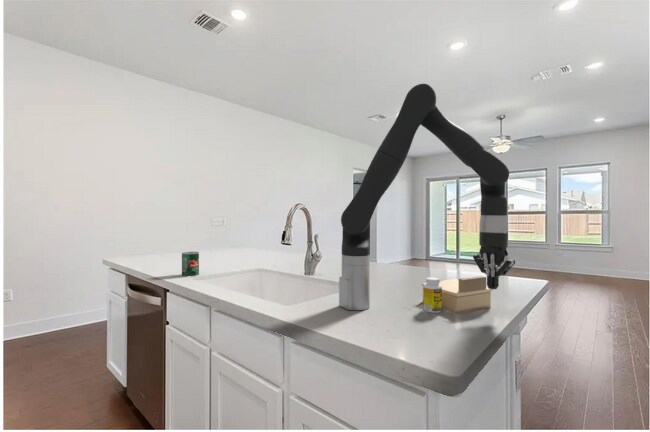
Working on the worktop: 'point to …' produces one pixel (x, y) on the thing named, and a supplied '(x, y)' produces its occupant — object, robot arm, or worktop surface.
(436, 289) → the supplement bottle
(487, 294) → the box
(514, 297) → the worktop surface
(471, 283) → the lid
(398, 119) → the robot arm
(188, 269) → the canned tomato
